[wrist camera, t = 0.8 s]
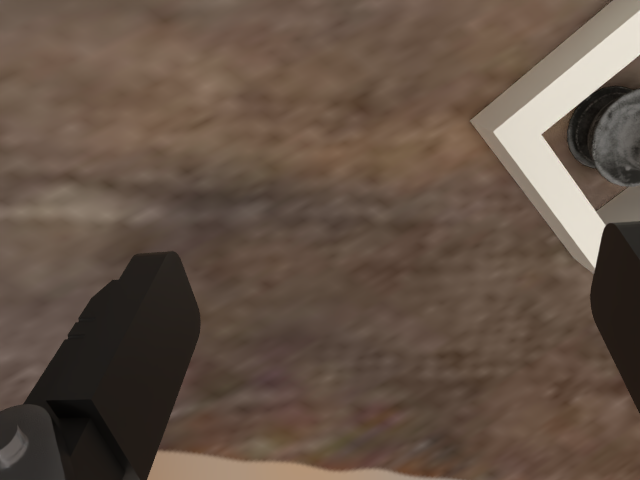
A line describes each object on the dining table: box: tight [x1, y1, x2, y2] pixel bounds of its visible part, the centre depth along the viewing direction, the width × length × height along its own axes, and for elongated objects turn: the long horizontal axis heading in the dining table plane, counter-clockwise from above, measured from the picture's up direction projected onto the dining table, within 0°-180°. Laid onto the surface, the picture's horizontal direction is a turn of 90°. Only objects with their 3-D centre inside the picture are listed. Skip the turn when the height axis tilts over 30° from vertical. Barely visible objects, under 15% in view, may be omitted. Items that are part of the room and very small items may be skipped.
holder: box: [470, 0, 640, 274], centre depth 32 cm, size 13×13×5 cm
